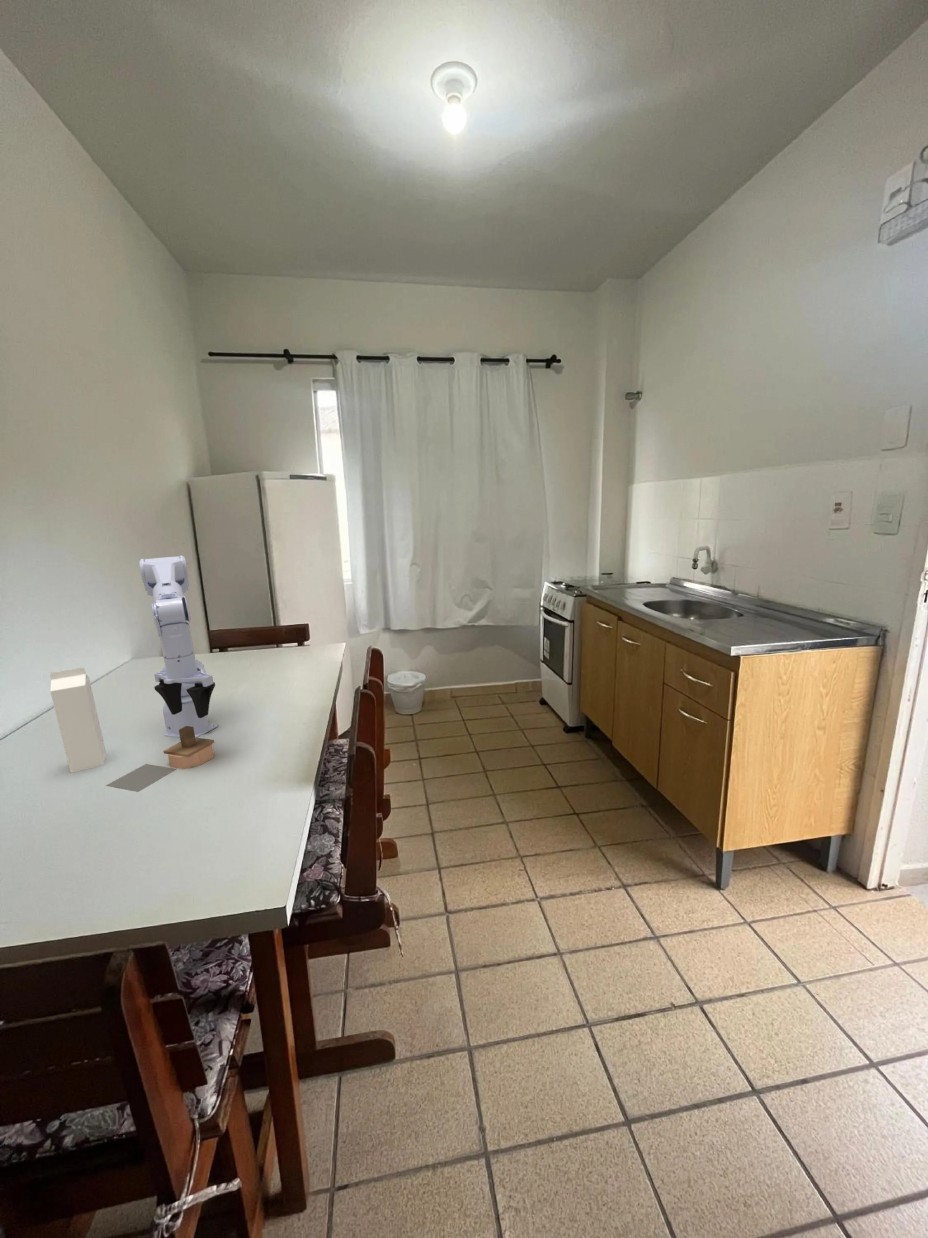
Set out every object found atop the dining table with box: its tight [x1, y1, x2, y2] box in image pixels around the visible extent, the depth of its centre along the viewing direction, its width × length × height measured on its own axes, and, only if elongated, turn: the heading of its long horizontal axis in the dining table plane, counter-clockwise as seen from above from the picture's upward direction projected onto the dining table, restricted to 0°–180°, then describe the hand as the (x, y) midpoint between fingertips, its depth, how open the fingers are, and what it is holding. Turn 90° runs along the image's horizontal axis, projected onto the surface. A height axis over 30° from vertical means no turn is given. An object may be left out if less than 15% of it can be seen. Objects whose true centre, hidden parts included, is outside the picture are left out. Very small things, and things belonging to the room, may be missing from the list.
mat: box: [105, 763, 178, 793], centre depth 106 cm, size 9×9×1 cm
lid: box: [162, 726, 215, 757], centre depth 111 cm, size 7×7×5 cm
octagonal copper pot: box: [167, 743, 215, 770], centre depth 112 cm, size 8×8×3 cm
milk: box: [49, 666, 108, 774], centre depth 111 cm, size 6×6×22 cm
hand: (190, 714), depth 111 cm, fingers open, 7 cm apart
